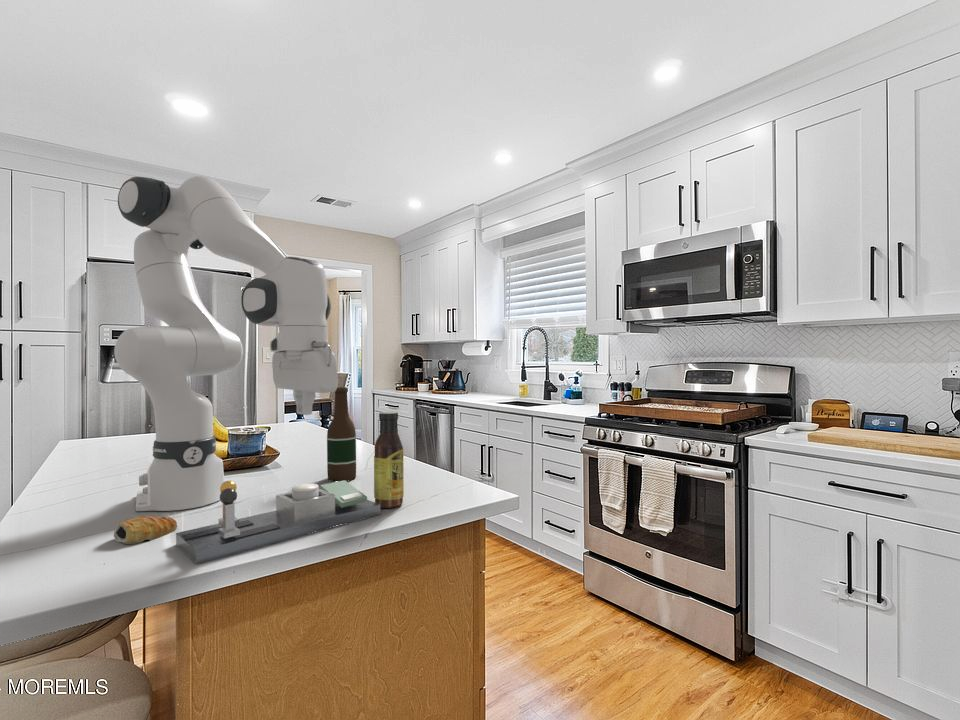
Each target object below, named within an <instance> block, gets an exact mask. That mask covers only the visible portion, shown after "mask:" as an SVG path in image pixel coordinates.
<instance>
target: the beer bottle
mask: <svg viewBox="0 0 960 720" xmlns="http://www.w3.org/2000/svg"><path fill="white" fill-rule="evenodd" d="M348 392H349V390H348V387H347V386H337V389H336V391H335V392H334V412H333V418H332V420H331V421H330V423H329V425H328V428H327V431H326V432H327V433H326V451H327V452H326V456H327V457H326V460H327V464H326V466H327V467H326V468H327V471H326V472H327V479H328V481H329V480H331V481H330V482H334V481H343V480H345V481H347V482H349V481H351V480H352V479H353V480H355V479H356V477H357V434H356V426H355V424H354V421H352V418H350V414H349V402H348ZM348 480H349V481H348Z"/></svg>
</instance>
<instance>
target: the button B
mask: <svg viewBox="0 0 960 720" xmlns="http://www.w3.org/2000/svg"><path fill="white" fill-rule="evenodd" d="M318 488H319V484H317V483H302V484H296V485H294V486H292V487H291V492H292V499H293V500H296V501H301V500H305V499H310V498H314V497H319V489H320V488H319V489H318Z"/></svg>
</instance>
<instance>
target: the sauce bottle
mask: <svg viewBox="0 0 960 720" xmlns="http://www.w3.org/2000/svg"><path fill="white" fill-rule="evenodd" d="M378 415H379V416H378V420H379V433H380V434H379V435H378V437H377V438H376V440H375V443H374V456H373V474H374V475H373V495H374V496H373V497H374V502H375V503H377V504H380V509H390V508H391V509H392V508H397V507H399V506H402V505H403V502H404V495H405V494H404V493H405V492H404V485H405V483H404V482H405V481H404V475H405V474H404V463H405V462H404V446H403V443H402V441H401V438H400V435H399V429H398V419H399V412H398V411H384V412H379V413H378Z"/></svg>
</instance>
